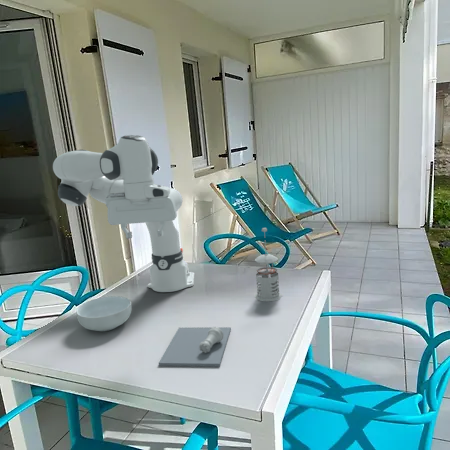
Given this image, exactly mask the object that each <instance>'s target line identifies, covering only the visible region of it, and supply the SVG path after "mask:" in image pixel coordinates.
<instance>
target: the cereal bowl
mask: <svg viewBox="0 0 450 450" xmlns="http://www.w3.org/2000/svg"><path fill="white" fill-rule="evenodd" d="M132 308H133V307H132V301H131V299H129V298H128V297H124V296H118V295H112V296H111V295H110V296H108V295H107V296H103V297H98V298H94V299H91V300H89V301H86V302H84V303H82V304H81V305H80V306H78V308H77V309H76V312H75V313H76V318H77V321H78V323H79V324H80V325H81V326H82V327H83V328H84V329H86V330H89V331H96V332H108V331H111V330H114V329H116V328H118V327H119V326H122V325H123V324H124V323H125V322H126V321H127V320H128V319H129V318H130V316H131V314H132Z"/></svg>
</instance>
